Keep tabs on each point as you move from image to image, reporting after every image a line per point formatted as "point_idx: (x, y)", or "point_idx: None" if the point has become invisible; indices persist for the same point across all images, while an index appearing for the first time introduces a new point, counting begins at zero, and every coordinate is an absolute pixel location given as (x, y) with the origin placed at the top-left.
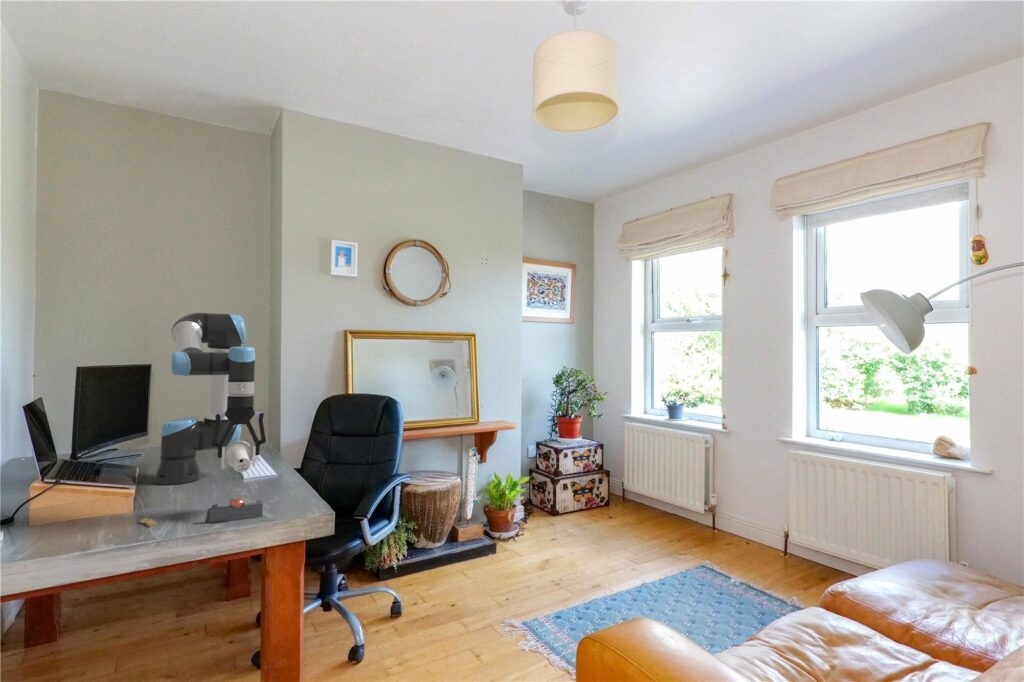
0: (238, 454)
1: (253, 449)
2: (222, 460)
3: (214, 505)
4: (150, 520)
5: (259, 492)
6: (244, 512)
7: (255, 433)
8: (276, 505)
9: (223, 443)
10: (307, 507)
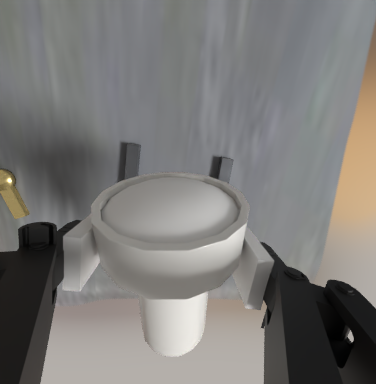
0: (159, 323)
1: (242, 293)
2: None
3: (131, 152)
4: (9, 191)
5: (253, 37)
6: None
7: (325, 351)
8: (255, 191)
9: (51, 314)
10: (301, 237)
